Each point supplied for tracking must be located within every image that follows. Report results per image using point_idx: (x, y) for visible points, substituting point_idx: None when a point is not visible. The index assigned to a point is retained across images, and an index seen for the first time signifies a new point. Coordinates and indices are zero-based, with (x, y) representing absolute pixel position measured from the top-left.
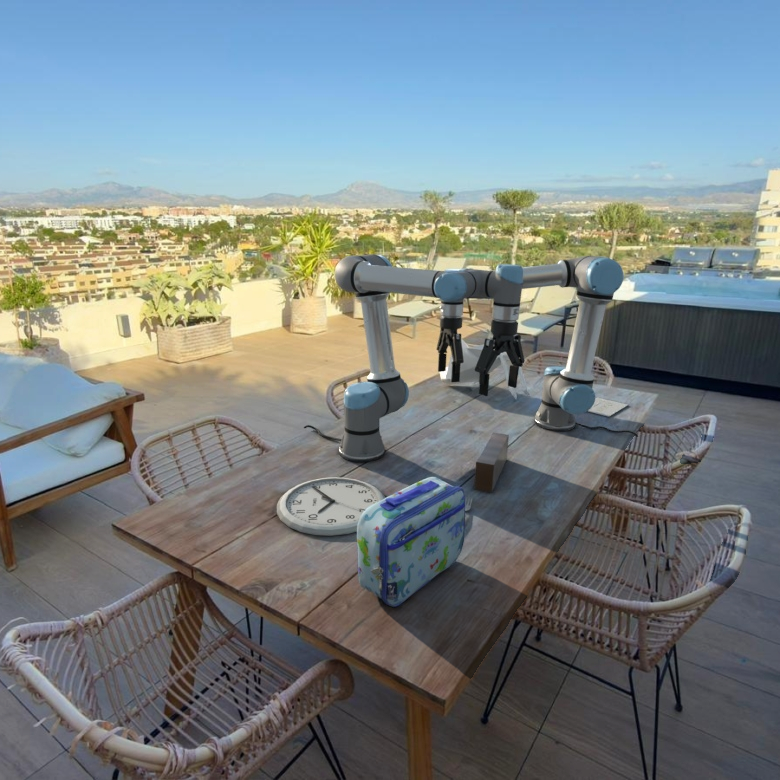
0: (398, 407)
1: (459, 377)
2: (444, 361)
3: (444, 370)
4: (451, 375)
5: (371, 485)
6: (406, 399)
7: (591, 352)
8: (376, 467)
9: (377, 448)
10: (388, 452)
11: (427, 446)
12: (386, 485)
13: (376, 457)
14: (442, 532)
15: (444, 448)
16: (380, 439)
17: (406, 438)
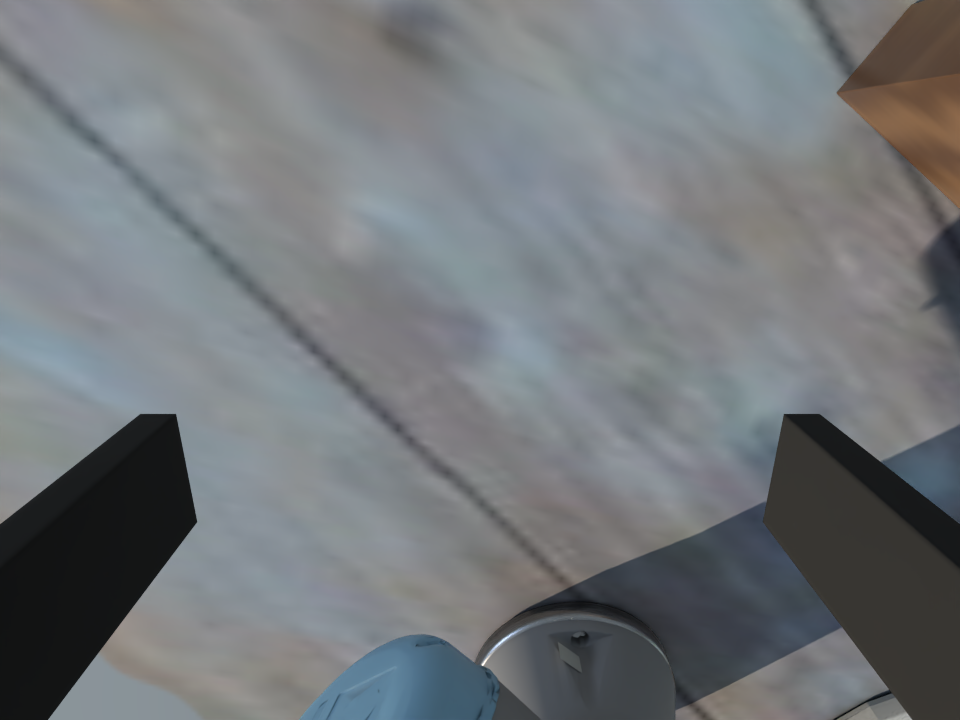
0: (518, 699)
1: (865, 453)
2: (65, 555)
3: (169, 441)
4: (814, 589)
5: (908, 716)
6: (471, 680)
7: None
8: (725, 653)
9: (663, 679)
10: (595, 584)
11: (578, 402)
12: None
13: (664, 653)
14: None
15: (629, 324)
16: (633, 686)
17: (448, 473)
